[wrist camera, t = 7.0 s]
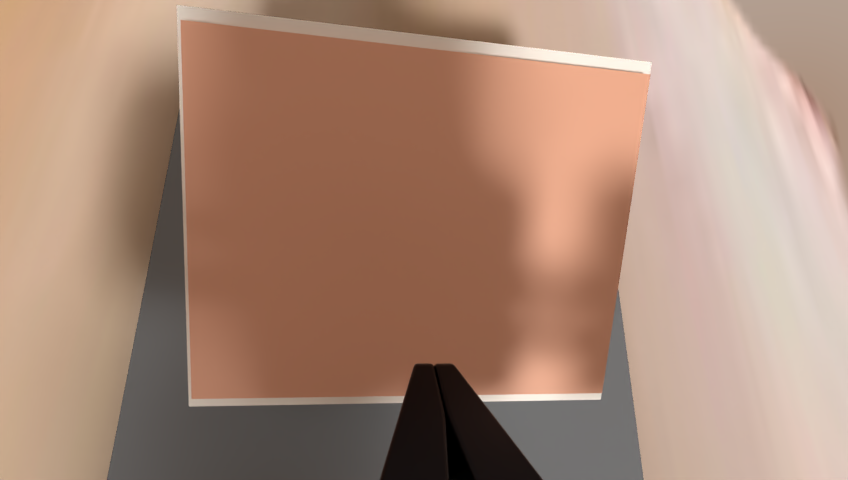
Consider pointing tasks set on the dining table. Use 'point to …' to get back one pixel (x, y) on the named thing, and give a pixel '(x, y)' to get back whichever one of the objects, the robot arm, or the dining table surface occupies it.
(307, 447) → the charcoal mat
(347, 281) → the cream and orange slab
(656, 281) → the dining table surface
